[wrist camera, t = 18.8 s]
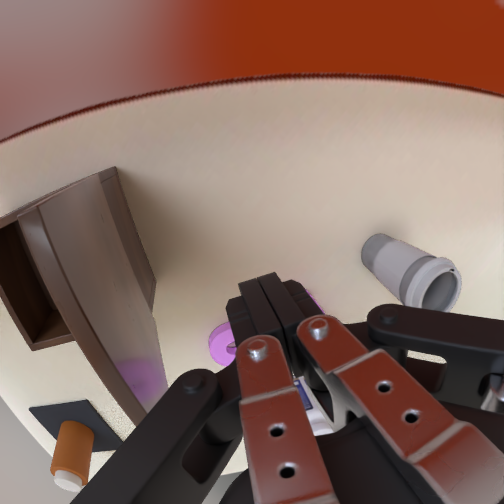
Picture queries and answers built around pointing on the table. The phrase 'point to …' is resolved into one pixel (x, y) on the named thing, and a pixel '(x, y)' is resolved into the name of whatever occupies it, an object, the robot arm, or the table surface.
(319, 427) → the pill bottle
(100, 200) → the lid
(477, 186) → the table surface
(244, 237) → the table surface
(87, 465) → the bottle
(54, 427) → the mat
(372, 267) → the cup
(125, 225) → the chest
